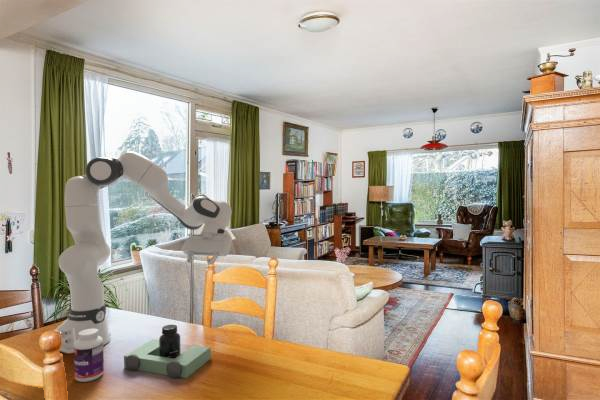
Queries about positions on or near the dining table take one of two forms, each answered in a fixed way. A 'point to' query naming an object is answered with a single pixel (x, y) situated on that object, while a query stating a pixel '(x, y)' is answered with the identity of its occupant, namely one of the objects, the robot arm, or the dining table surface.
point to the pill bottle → (88, 356)
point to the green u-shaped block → (167, 360)
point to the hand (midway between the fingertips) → (199, 263)
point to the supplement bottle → (169, 342)
